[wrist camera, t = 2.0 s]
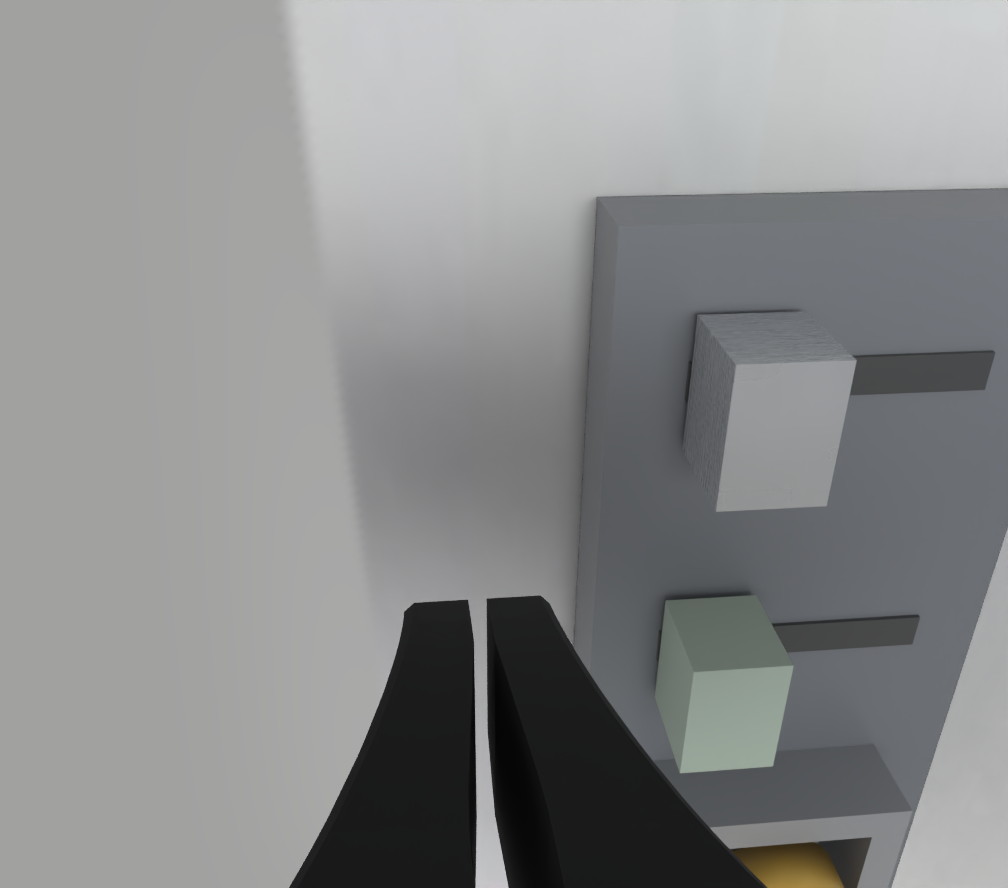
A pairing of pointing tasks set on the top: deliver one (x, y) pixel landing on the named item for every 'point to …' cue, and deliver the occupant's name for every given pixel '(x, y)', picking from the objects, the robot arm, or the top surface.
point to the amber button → (791, 865)
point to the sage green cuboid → (721, 683)
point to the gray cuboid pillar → (766, 409)
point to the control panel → (807, 530)
